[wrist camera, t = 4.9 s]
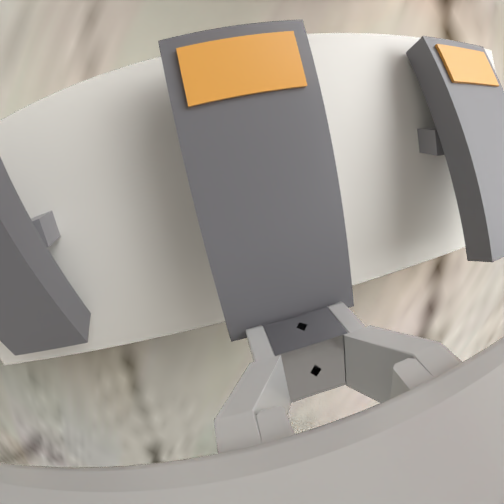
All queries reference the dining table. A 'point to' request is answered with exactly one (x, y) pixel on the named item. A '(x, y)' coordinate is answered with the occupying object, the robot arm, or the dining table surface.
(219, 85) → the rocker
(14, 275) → the block
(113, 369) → the dining table surface
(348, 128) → the power strip
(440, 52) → the rocker
